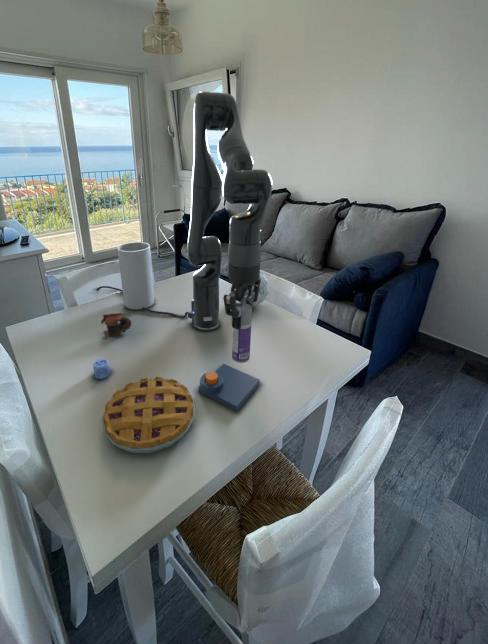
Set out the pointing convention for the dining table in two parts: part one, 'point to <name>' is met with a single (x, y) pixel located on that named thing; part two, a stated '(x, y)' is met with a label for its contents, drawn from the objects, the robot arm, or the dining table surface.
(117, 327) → the pottery mug
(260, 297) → the puzzle ball
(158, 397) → the pie
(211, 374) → the button
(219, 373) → the scale
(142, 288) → the cylinder vase
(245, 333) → the container
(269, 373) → the dining table surface
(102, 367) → the decorative dice
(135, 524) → the dining table surface
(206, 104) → the robot arm
